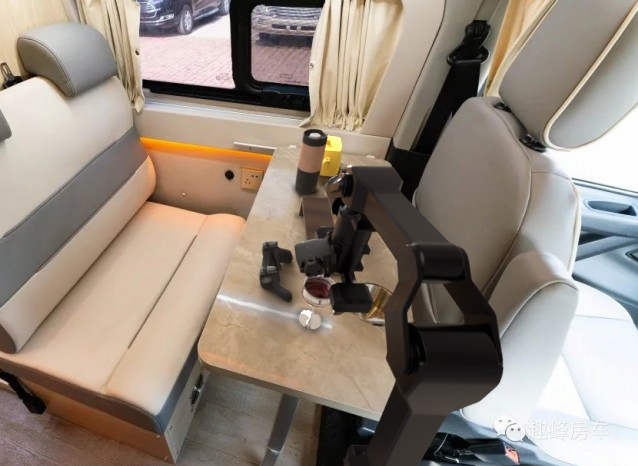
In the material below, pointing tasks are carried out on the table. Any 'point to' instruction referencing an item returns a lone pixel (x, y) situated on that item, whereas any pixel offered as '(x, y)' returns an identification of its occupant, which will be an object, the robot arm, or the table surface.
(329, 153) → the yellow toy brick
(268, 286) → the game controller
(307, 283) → the wineglass
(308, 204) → the chute
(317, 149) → the travel mug
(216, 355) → the table surface
